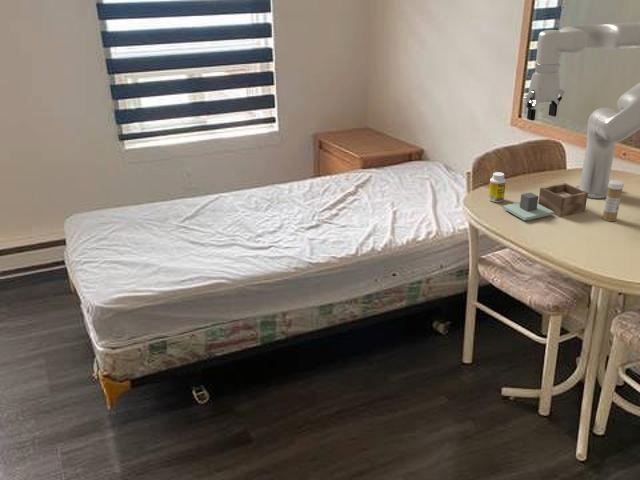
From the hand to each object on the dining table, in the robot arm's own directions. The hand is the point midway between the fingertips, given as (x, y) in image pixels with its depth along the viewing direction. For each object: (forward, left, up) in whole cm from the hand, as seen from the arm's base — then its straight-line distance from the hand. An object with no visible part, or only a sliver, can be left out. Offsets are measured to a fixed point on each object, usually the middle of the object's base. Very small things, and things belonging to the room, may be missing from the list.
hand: (541, 117), depth 209 cm
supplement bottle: (+15, -2, -30) cm, 33 cm away
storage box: (0, +15, -29) cm, 33 cm away
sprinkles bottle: (-8, +29, -29) cm, 42 cm away
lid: (+13, +13, -30) cm, 35 cm away
